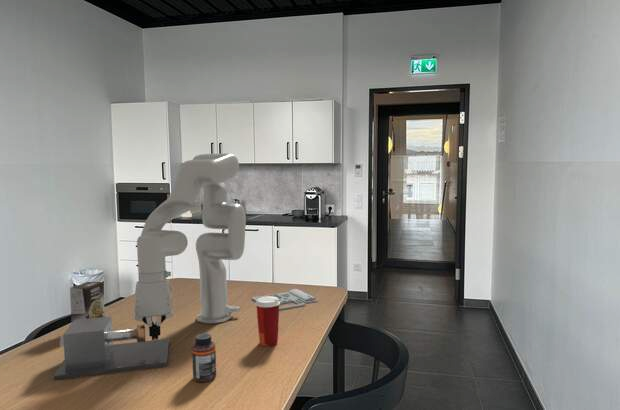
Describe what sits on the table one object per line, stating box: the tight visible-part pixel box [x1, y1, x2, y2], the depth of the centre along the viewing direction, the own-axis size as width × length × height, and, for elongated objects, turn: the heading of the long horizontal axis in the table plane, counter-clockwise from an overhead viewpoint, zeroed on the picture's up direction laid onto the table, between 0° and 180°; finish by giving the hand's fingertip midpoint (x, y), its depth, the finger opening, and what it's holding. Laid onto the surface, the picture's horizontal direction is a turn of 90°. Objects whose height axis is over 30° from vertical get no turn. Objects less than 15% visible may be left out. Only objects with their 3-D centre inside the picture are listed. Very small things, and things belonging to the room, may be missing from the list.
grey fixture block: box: [53, 316, 170, 381], centre depth 126 cm, size 28×18×11 cm, turn 105°
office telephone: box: [251, 288, 319, 312], centre depth 181 cm, size 23×3×20 cm
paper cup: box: [254, 296, 281, 347], centre depth 136 cm, size 8×8×14 cm
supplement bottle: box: [191, 333, 217, 383], centre depth 114 cm, size 6×6×11 cm
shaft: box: [59, 323, 147, 348], centre depth 125 cm, size 22×5×5 cm, turn 105°
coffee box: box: [69, 281, 106, 323], centre depth 149 cm, size 9×6×16 cm
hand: (155, 338), depth 129 cm, fingers closed
